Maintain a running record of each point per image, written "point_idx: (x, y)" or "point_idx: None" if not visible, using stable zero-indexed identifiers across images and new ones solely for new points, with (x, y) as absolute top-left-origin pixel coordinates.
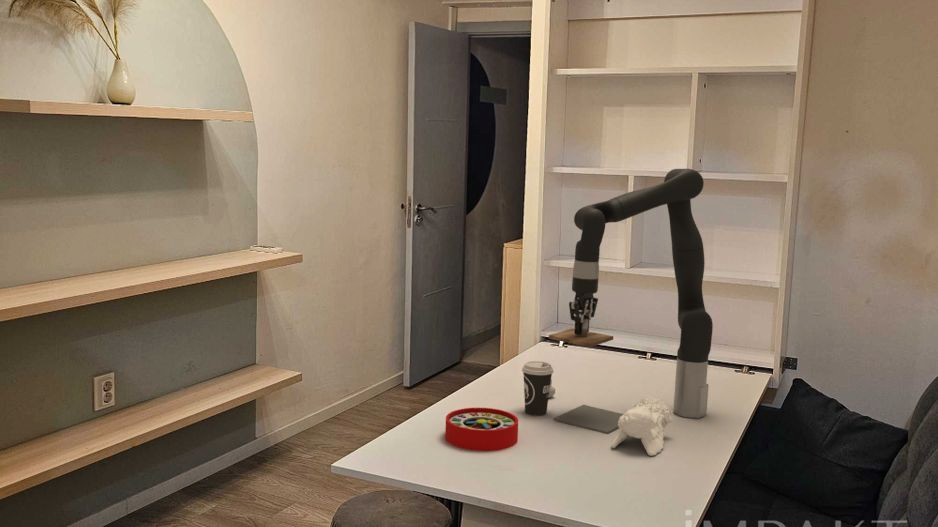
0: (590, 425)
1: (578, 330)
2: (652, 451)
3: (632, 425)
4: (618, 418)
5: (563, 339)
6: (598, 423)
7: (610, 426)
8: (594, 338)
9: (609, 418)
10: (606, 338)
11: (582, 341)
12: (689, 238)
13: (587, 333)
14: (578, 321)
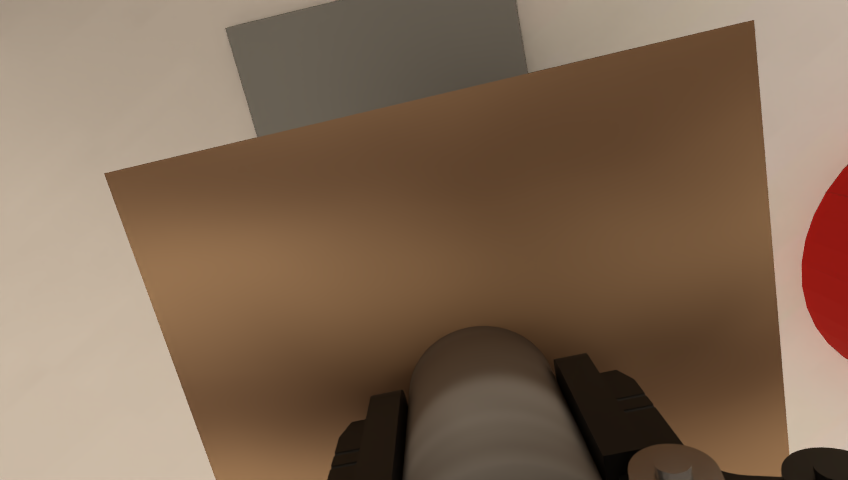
0: (501, 74)
1: (640, 393)
2: None
3: None
4: (315, 64)
5: (775, 401)
6: (449, 72)
7: (437, 6)
8: (448, 214)
9: (351, 90)
10: (293, 134)
11: (737, 174)
12: None
13: (313, 437)
14: (751, 478)
